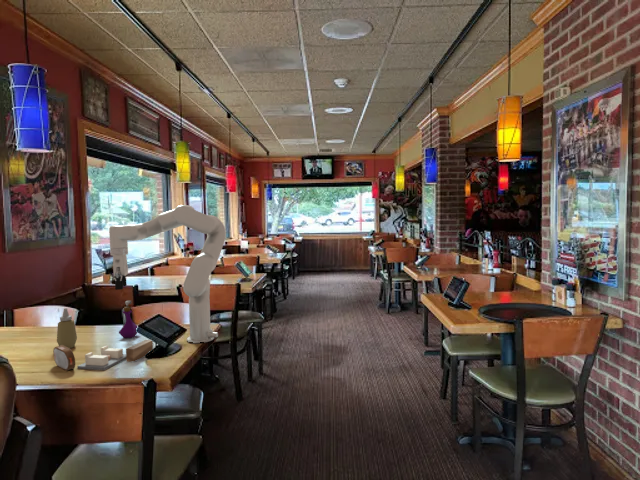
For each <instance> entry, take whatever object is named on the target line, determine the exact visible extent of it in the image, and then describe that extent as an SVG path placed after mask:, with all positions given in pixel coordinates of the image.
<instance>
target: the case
mask: <svg viewBox="0 0 640 480" xmlns="http://www.w3.org/2000/svg"><path fill="white" fill-rule="evenodd" d="M151 340H152V339H145V340H142V341H140V342H138V343H136V344H134V345H131V346H129V347H127V348H125V354H126V359H125V361H126V362H127V363H129V362H130V363H134V362H137V361H139V360H141V359H143V358H144V356H145V355H146V354H147V353H148V352H149V351H151V350H152V349H153V350H154V342H153V341H151ZM145 357H146V356H145Z"/></svg>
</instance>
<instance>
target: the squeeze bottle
mask: <svg viewBox="0 0 640 480" xmlns="http://www.w3.org/2000/svg"><path fill="white" fill-rule="evenodd" d="M72 317H73V316H72V315H70V314H69V311H68V308H63V311H62V316H60V317H59V322H57V330H56V331H57V333H56V343H57V346H60V345H63V346H65V347H68V348H70V349H72V348H75V345H76V343H77V340H78V336H77V330H76V325H75V323H76V322H75V321H74V320H73V318H72Z"/></svg>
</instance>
